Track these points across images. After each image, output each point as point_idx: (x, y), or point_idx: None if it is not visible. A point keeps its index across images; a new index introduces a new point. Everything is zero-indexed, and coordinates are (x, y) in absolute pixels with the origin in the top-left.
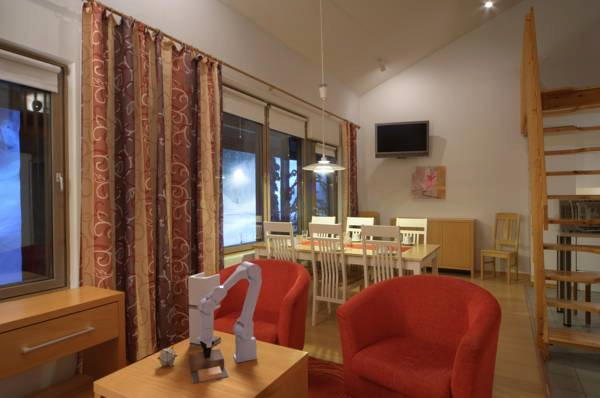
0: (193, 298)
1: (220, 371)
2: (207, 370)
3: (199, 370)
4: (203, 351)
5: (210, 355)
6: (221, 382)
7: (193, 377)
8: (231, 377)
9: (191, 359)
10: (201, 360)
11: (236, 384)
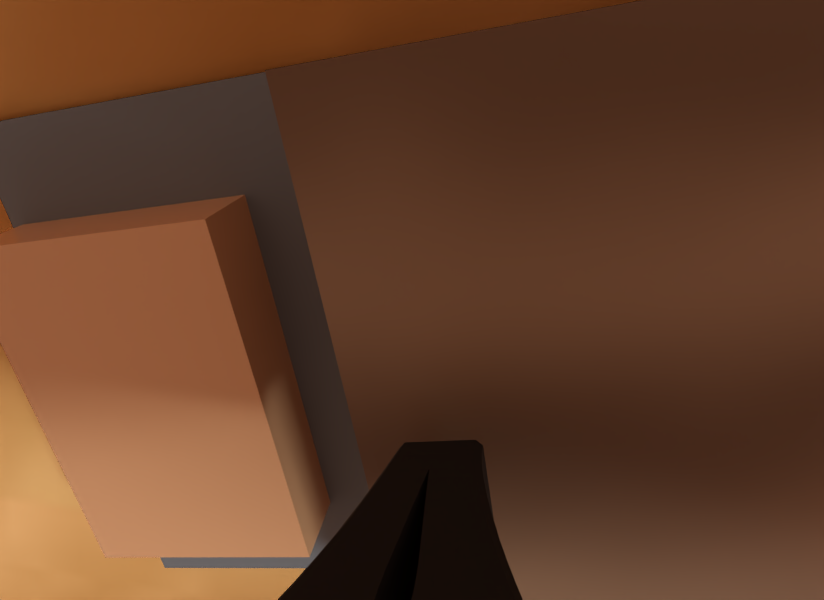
0: None
1: (134, 546)
2: (183, 385)
3: (195, 251)
4: (321, 584)
5: (669, 532)
6: (44, 479)
7: (159, 116)
8: (158, 583)
9: (619, 59)
10: (453, 337)
11: (10, 596)
